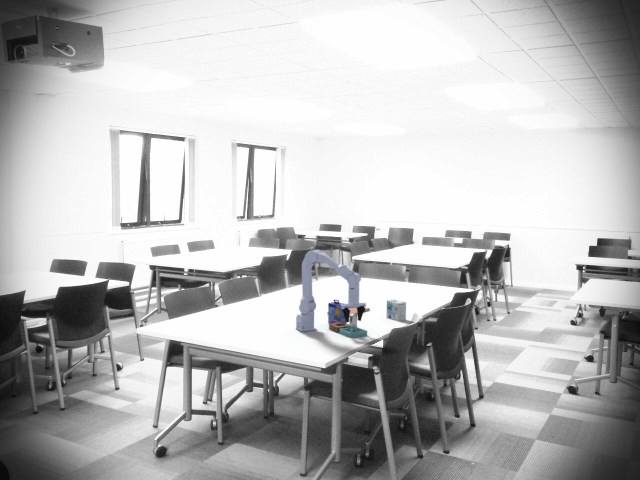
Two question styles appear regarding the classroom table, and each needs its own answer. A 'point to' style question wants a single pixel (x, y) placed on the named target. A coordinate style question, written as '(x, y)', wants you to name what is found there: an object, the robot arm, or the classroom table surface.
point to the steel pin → (353, 323)
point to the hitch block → (338, 326)
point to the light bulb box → (396, 310)
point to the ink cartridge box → (335, 313)
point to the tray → (354, 334)
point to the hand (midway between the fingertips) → (353, 321)
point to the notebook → (355, 310)
